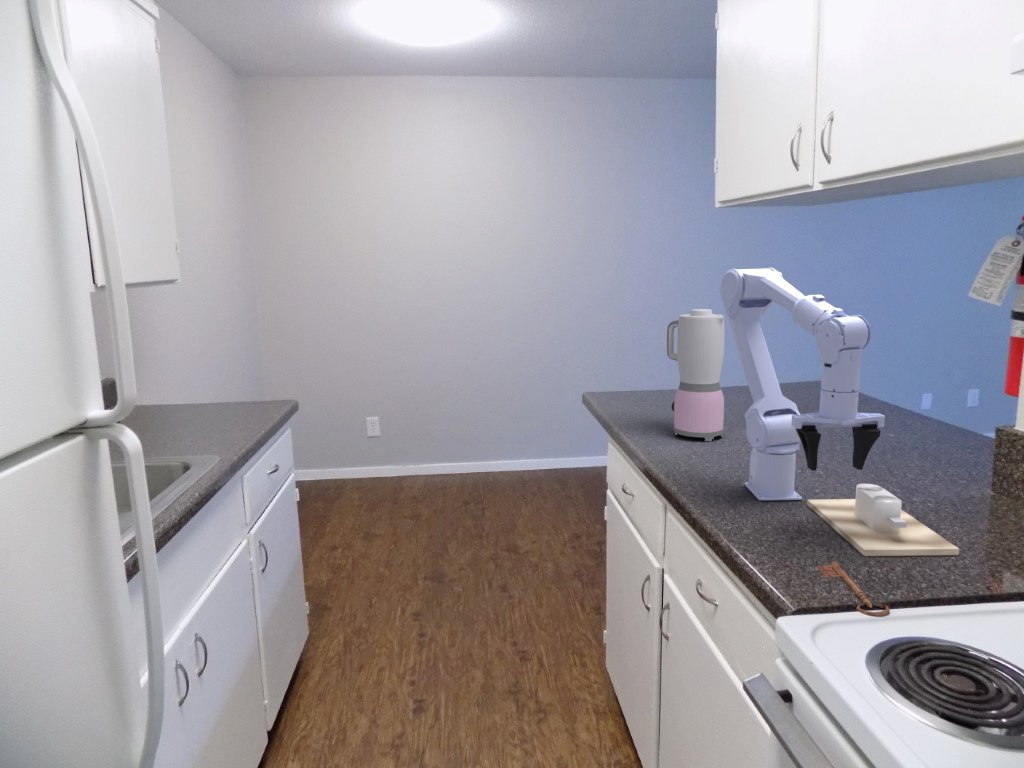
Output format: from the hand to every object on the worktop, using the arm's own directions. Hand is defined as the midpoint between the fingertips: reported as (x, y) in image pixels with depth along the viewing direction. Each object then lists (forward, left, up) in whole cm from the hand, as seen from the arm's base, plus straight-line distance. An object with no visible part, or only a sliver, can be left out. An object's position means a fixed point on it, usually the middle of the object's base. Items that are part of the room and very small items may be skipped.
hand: (834, 468), depth 116 cm
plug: (+4, +6, -8) cm, 11 cm away
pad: (+3, +6, -9) cm, 12 cm away
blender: (-59, -10, -10) cm, 61 cm away
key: (+24, -8, -10) cm, 27 cm away
